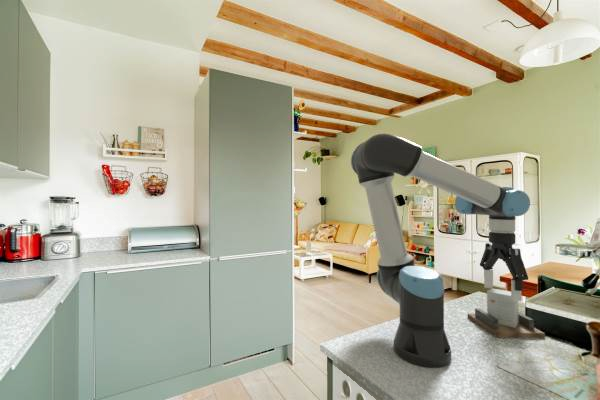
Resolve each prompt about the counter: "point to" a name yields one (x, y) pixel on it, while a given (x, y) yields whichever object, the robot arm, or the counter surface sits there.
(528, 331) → the mounting plate
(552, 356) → the counter surface
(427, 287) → the robot arm
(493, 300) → the small box
